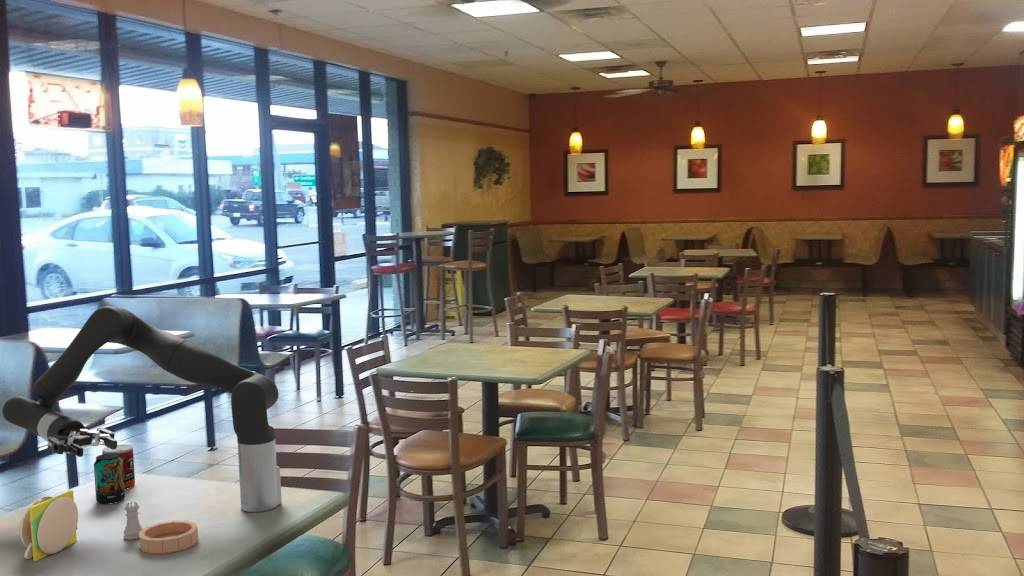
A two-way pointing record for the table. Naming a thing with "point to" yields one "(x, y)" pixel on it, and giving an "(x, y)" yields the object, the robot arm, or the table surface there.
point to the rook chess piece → (132, 522)
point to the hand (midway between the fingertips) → (99, 449)
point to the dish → (168, 537)
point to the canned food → (125, 462)
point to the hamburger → (49, 525)
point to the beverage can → (109, 478)
